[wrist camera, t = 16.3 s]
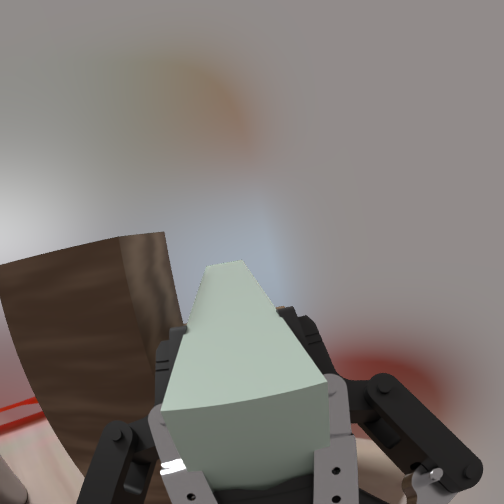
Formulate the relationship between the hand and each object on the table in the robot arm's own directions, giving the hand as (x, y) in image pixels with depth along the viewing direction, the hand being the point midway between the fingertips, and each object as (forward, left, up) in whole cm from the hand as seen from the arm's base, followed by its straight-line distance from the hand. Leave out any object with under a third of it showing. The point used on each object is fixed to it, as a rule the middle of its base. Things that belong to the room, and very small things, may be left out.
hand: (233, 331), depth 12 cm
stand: (+6, +10, -27) cm, 29 cm away
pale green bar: (+6, +3, -3) cm, 7 cm away
